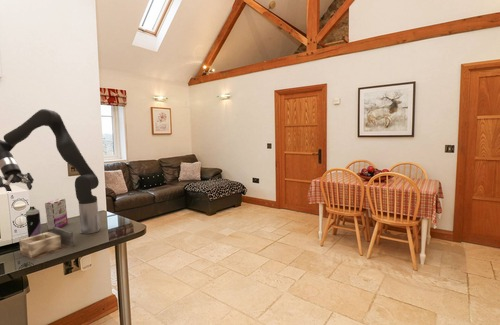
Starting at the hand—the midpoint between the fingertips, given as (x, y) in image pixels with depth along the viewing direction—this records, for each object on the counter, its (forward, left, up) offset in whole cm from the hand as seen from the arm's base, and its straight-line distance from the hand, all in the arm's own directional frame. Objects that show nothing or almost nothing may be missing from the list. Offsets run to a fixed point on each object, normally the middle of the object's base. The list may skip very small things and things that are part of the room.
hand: (20, 190), depth 143 cm
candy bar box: (-9, -20, -28) cm, 35 cm away
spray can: (-8, +9, -27) cm, 30 cm away
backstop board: (-16, +20, -27) cm, 37 cm away
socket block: (-14, +21, -26) cm, 37 cm away
